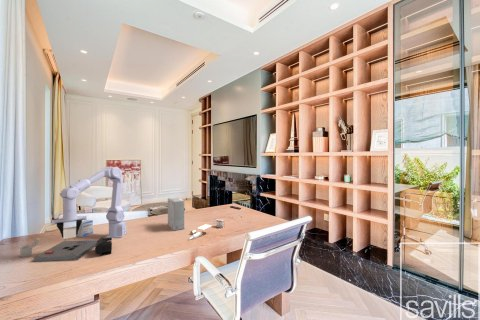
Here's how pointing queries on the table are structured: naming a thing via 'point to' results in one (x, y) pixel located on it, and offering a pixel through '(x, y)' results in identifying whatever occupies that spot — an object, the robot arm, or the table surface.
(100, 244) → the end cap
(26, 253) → the grey angled bar block
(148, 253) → the table surface
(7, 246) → the table surface
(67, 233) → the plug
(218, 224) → the white jointed pieces
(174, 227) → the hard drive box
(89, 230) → the medicine box
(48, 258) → the socket
